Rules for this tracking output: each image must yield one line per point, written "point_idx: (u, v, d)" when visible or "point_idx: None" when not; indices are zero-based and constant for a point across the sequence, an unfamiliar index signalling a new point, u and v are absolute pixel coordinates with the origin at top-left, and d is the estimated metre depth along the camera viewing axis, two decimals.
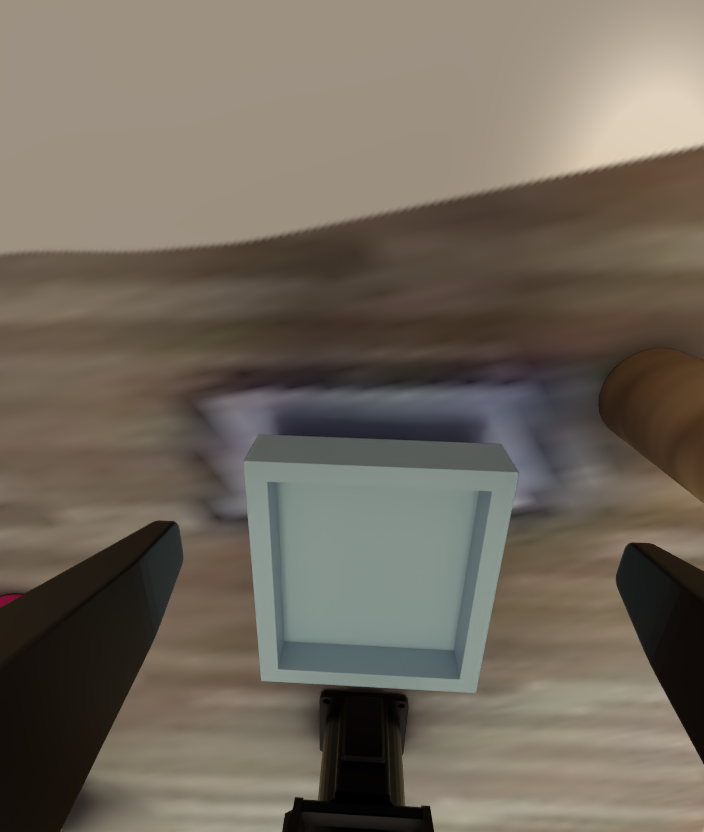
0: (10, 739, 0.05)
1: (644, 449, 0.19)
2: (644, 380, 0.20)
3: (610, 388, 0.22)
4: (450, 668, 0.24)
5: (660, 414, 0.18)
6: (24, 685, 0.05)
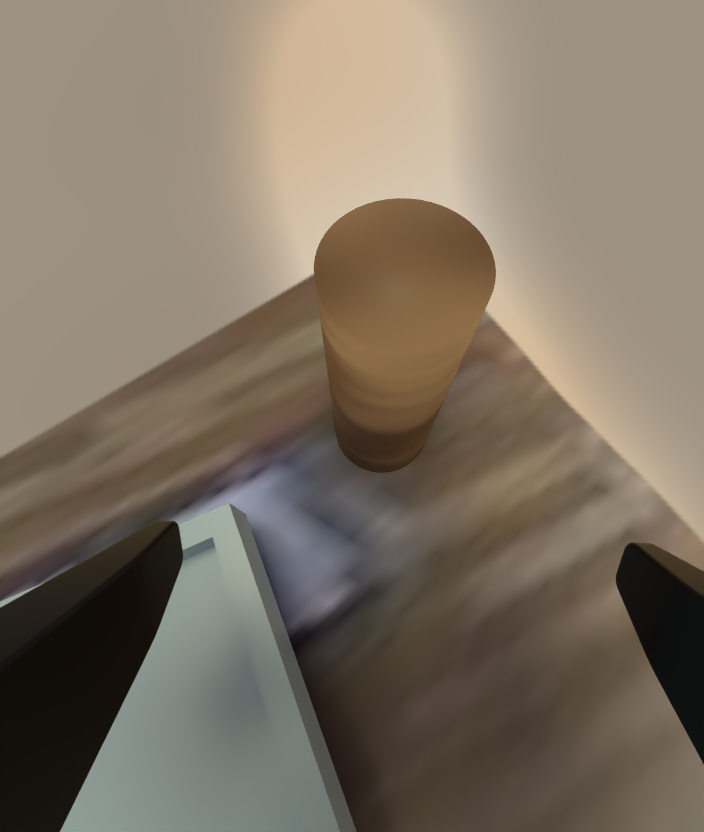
0: (10, 739, 0.05)
1: (354, 440, 0.20)
2: None
3: (336, 433, 0.23)
4: None
5: None
6: (24, 685, 0.05)
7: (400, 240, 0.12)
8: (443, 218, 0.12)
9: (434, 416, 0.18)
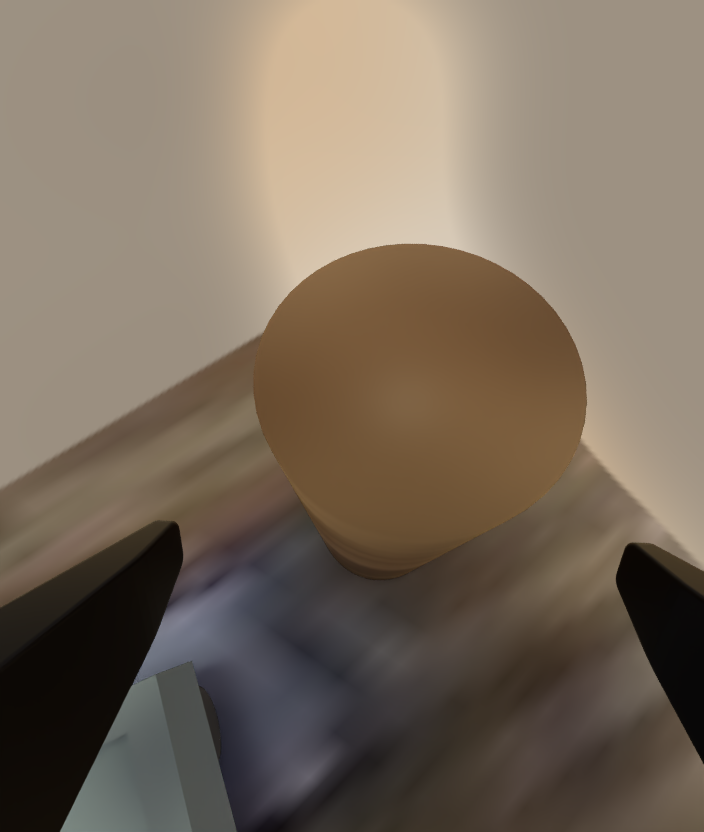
0: (10, 739, 0.05)
1: (341, 560, 0.14)
2: None
3: None
4: None
5: None
6: (24, 685, 0.05)
7: (410, 321, 0.07)
8: (484, 279, 0.07)
9: None
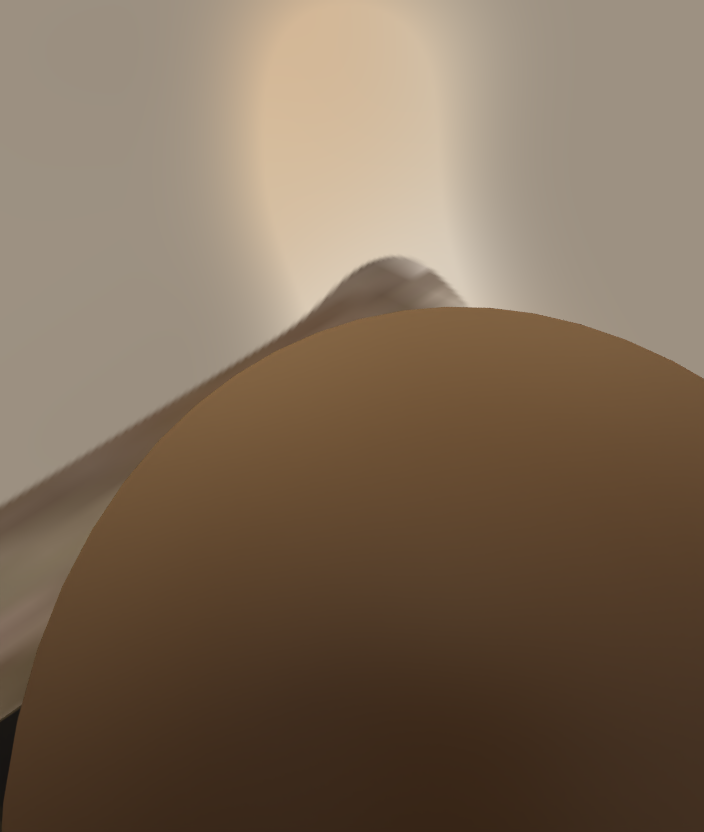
0: None
1: None
2: None
3: None
4: None
5: None
6: None
7: (469, 533, 0.03)
8: (647, 403, 0.03)
9: None
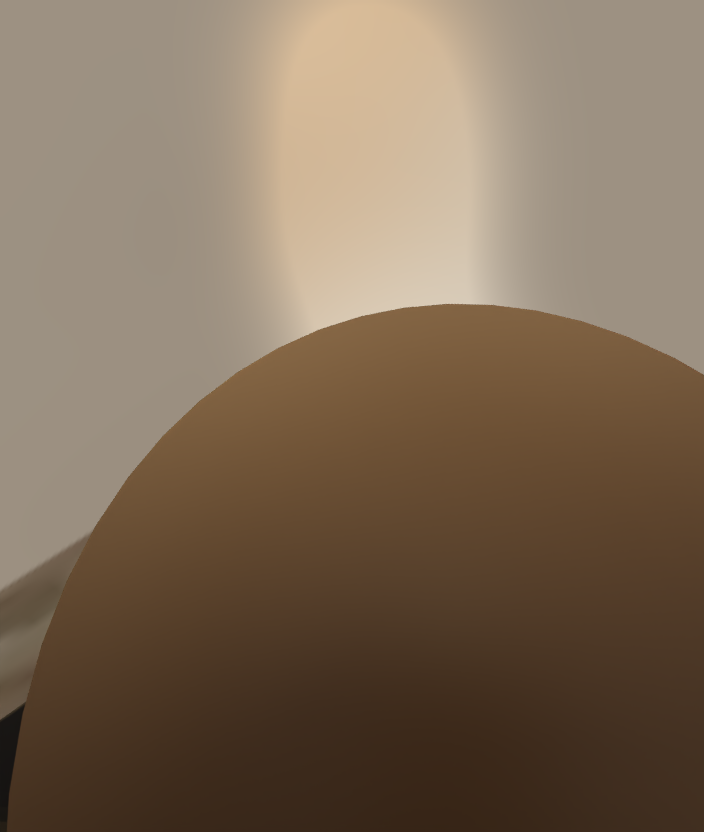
0: None
1: None
2: None
3: None
4: None
5: None
6: None
7: (470, 529, 0.03)
8: (648, 400, 0.03)
9: None
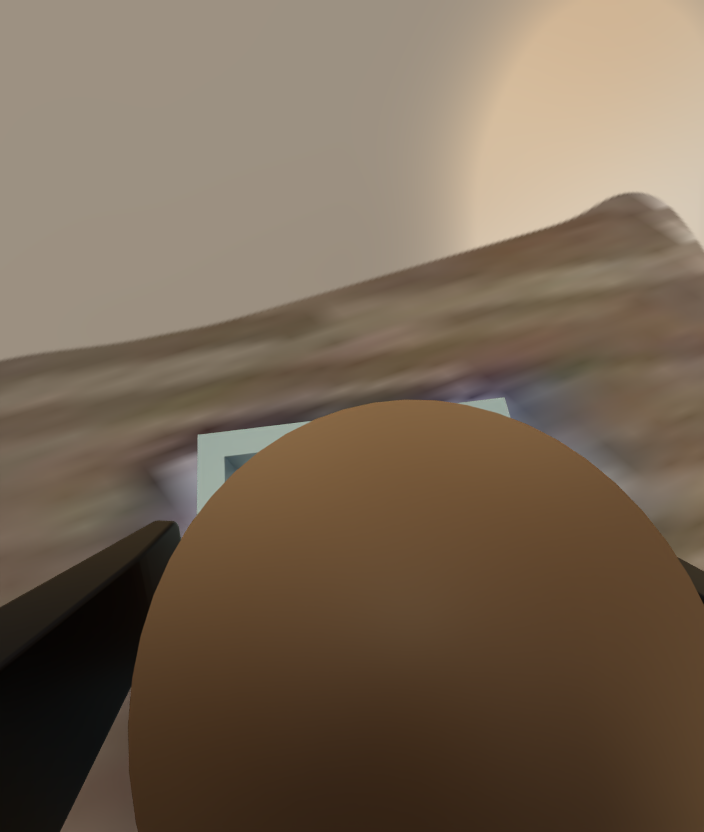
0: (10, 739, 0.05)
1: None
2: None
3: None
4: None
5: None
6: (24, 685, 0.05)
7: (412, 561, 0.04)
8: (538, 471, 0.04)
9: None
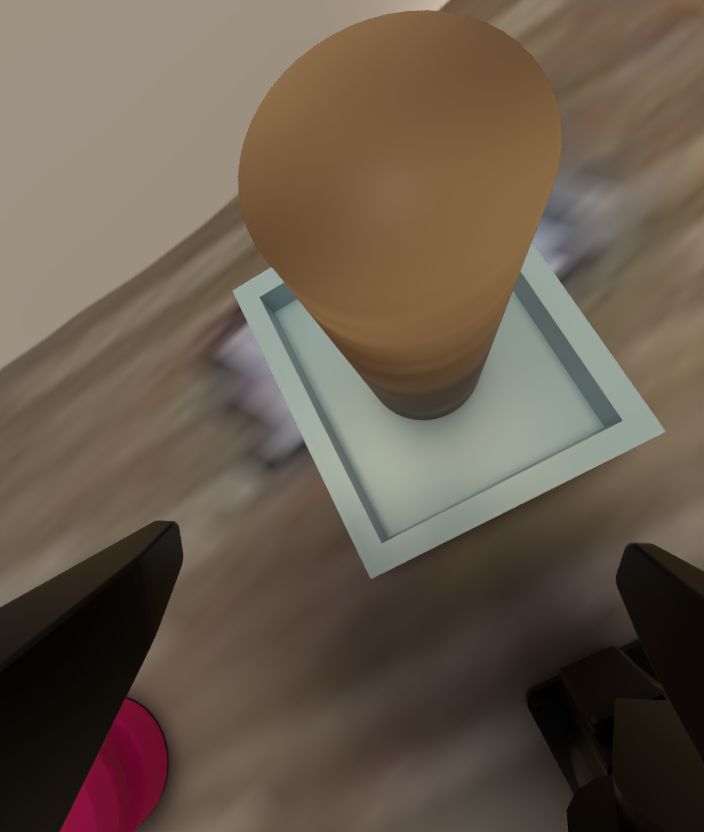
0: (10, 739, 0.05)
1: (401, 404, 0.15)
2: None
3: None
4: (607, 427, 0.16)
5: None
6: (24, 685, 0.05)
7: (363, 112, 0.07)
8: (420, 33, 0.07)
9: None
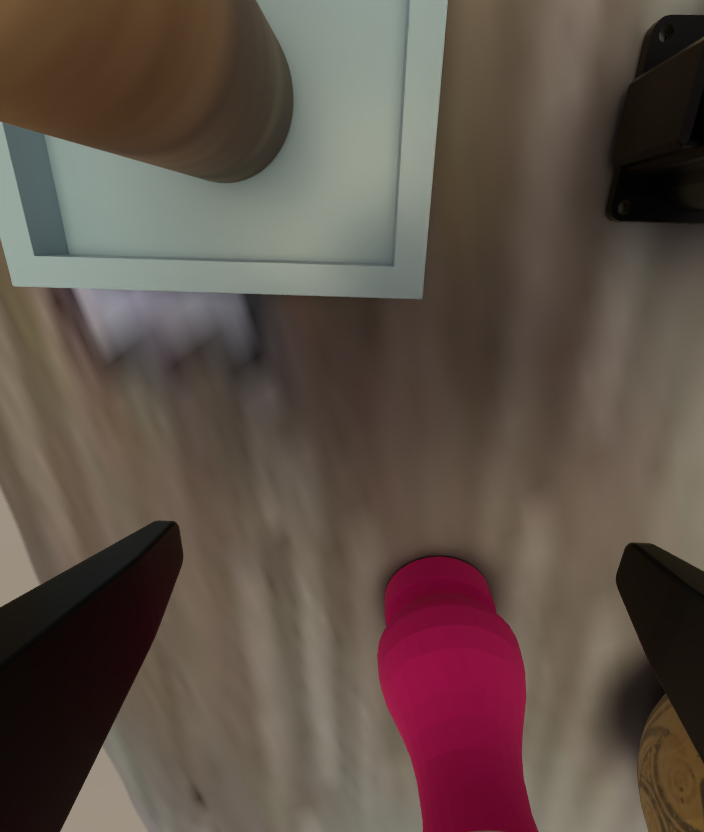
0: (10, 739, 0.05)
1: (241, 130, 0.11)
2: None
3: (225, 180, 0.14)
4: None
5: (166, 164, 0.11)
6: (24, 685, 0.05)
7: None
8: None
9: None
